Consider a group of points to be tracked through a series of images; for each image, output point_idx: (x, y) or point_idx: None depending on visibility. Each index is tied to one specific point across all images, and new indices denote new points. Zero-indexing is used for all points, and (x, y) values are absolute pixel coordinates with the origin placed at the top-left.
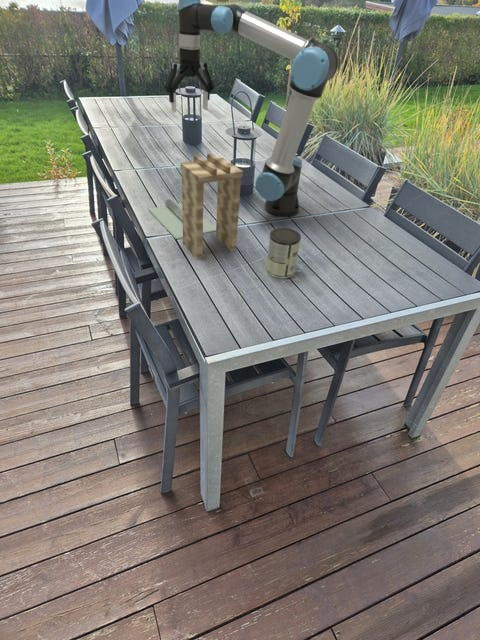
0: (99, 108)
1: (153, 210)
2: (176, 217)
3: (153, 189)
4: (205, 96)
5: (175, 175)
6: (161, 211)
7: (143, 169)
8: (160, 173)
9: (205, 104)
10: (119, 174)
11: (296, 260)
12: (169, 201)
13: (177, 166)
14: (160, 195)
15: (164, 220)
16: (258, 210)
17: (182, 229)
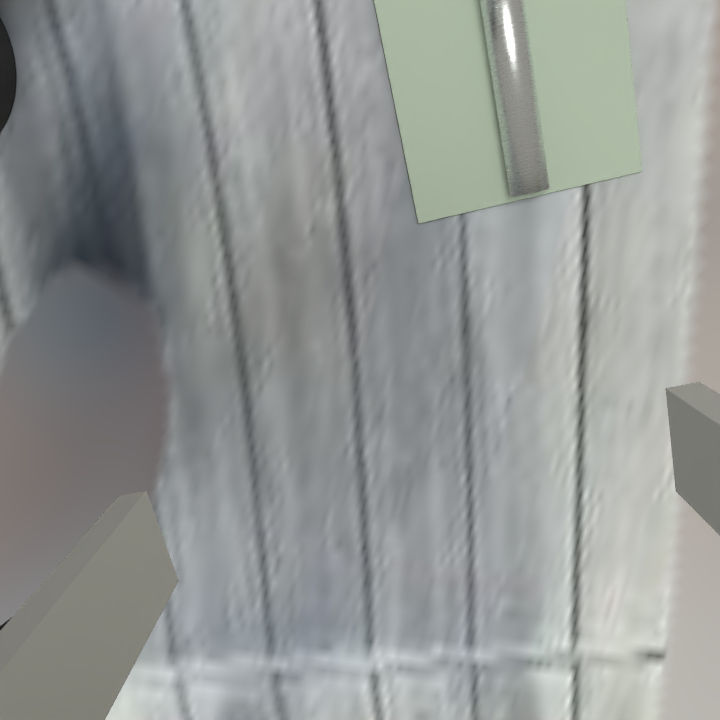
0: None
1: (621, 145)
2: None
3: (545, 420)
4: (46, 651)
5: (395, 566)
6: (583, 126)
7: (533, 654)
8: (463, 599)
9: (116, 549)
10: (662, 614)
11: None
12: (537, 164)
13: (360, 666)
14: (529, 343)
15: (598, 4)
16: (55, 69)
17: None
